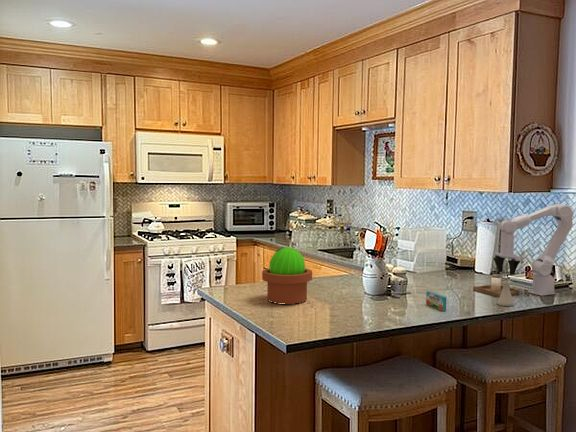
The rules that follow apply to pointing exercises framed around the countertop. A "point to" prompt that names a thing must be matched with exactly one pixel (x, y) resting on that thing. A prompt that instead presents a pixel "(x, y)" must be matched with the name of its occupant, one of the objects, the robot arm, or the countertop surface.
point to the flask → (506, 296)
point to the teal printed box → (436, 300)
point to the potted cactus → (287, 277)
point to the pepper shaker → (496, 283)
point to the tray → (487, 290)
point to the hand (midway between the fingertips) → (506, 273)
